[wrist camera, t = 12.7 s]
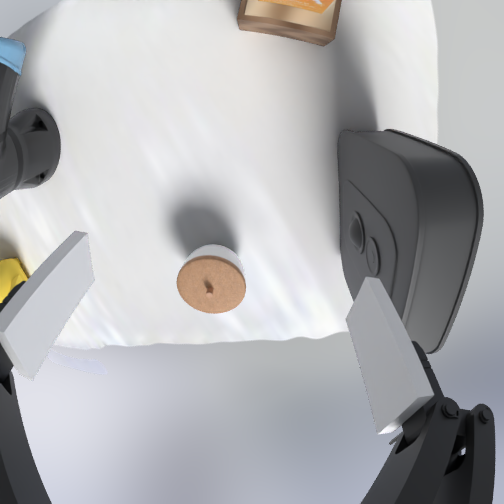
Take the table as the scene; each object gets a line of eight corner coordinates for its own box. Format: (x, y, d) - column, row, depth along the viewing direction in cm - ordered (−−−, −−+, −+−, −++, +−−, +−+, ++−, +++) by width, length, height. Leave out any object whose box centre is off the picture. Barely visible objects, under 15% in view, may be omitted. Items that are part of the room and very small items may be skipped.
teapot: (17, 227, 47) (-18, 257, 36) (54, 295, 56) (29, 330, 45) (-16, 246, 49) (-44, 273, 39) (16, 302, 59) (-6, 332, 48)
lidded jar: (194, 287, 53) (185, 322, 45) (179, 237, 48) (165, 268, 40) (251, 282, 52) (250, 318, 44) (242, 229, 47) (238, 261, 39)
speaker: (376, 262, 49) (432, 369, 28) (332, 268, 50) (371, 386, 29) (379, 124, 37) (491, 169, 15) (325, 126, 38) (407, 169, 16)
